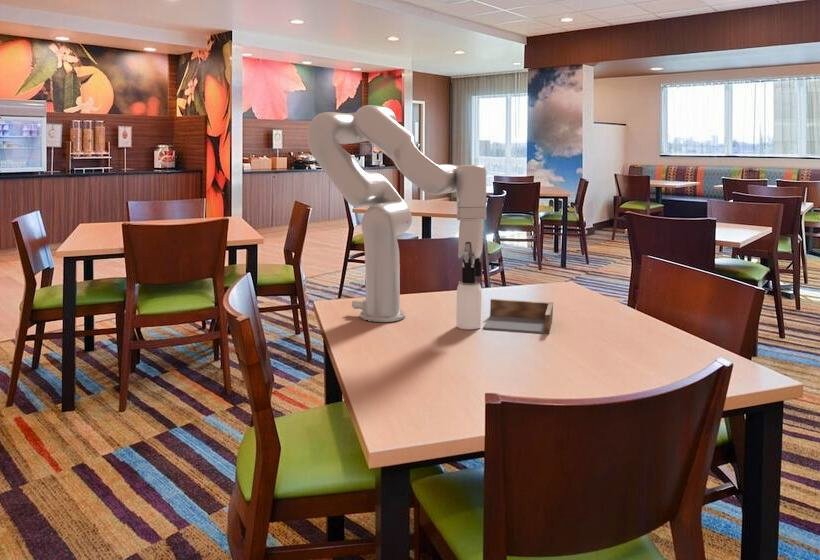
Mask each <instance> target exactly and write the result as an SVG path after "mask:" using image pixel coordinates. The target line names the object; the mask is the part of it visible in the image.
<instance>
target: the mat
mask: <svg viewBox="0 0 820 560" xmlns="http://www.w3.org/2000/svg"><path fill="white" fill-rule="evenodd" d="M482 329H483V330H487V331H490V330H491V331H503V332H516V333H517V332H519V333H533V334H545V332H544V331H545V319H534V318H519V317H504V316H490V315H489V317H488V319H487V320H486V322H485V323H484V325H483V327H482ZM550 332H551V330H550V331H549V332H546V333H549V334H550Z"/></svg>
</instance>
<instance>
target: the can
mask: <svg viewBox="0 0 820 560" xmlns="http://www.w3.org/2000/svg"><path fill="white" fill-rule="evenodd" d="M482 290H483V289H482V286H481V282H479V281H477V280H475V283H463V282H462V280H461V281H458V286H457V287H456V327H457V329H459V330H464V331H475V330H479V329H480V328H481V325H482V298H483V297H482V296H483V295H482Z"/></svg>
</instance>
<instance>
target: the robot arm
mask: <svg viewBox="0 0 820 560" xmlns="http://www.w3.org/2000/svg"><path fill="white" fill-rule="evenodd" d="M306 135H307V138H306V139H307V145H308V149H309V151H310V153H311V155H312V158H314V160H315V161H316V163H317V164H318V165H319V166H320V167H321V169H322V170H323V172H325V174H326V175H327V176H328V177H329V179H330V180H331V182H332V183H333V185H334V186H335V188H336V189H337V190H338V191H339V193H340V194H341V195H342V196H343V198H344V199H345V201H346V202H347V203H348V204H349V205H350V206H352V207H355V208H366V207H369V208H367V209H366V210H365V211H364V213H363V215H362V217H361V233H362V237H363V245H364V265H365V266H364V267H365V268H364V270H365V271H364V272H365V273H364V274H365V275H364V276H365V299H364V300H363V301H362V300H361V301H360V300H352V302H351V307H352V308H353V309H355V310H358V309H359V310H361V311H360V314H359V317H360V319H362V320H364V321H366V320H368V321H367V322H372V321H373V323H390V322H391V323H392V322H397V321H398V322H399V321H400V320H403V319H405V318H406V312H405V311H404V310H403V309H401V308H400V304H401V303H400V300H401V299H400V296H401V295H400V294H401V292H400V290H401V289H400V287H401V285H400V282H401V281H400V278H401V277H400V275H401V272H400V268H401V264H400V262H401V259H400V256H401V255H400V248H399V242H398V237H397V236H399V235H402V234H404V233H406V232H407V231H408V230H409V229H410V227H411V226H412V222H413V215H412V212H411V209H410V207H409V205H408V204H407V203H406V201H404V199H403V198H402V197H401V195H400V194H399V192H398V191H397V190H396V189H395V187H394V186H393V185H392V184H391V182H390V181H389V180H388V179H387V178H386V177H385V176H383V175H382V174H381V173H378V172H377V171H376V172H375V171H365V170H363V169H362V168H361V166H360V165H359V164H358V162H357V161H356V159H354V157H353V156H352V155H351V154H350V153H349V152H348V151H347V150H346V149H345V148H344V147H343V146H341V145H349V144H357V143H362V142H369V143H370V144H371V145H373V146H374V147H375V148H376V149H378V150H379V151H381V152H382V153H383V154H384V155H386V156H387V157H388V158H389V159H391V161H392V162H393V163H394V165H395V167H396V168H397V169H398V171H399V172H400V173H401V174H402V175H403V176H404V177H405V178H406V179H407V180H408V181H409V182H411V183H412V184H414V185H415V186H416V187H417V188H418V189H419V190H421V191H423V192H424V193H426V194H428V195H431V196H439V195H440V196H441V195H446V194H451V193H456V221H459V227H458V248H457V249H458V251H457V253H458V254H457V256H458V259H462V267H461V270H462V271H461V276H462V279H461V281H462V282H463V283H475V281H476V277H481V276H482V261H481V260H482V257H481V255H482V254H483V241H484V240H483V235H484V234H483V221H484V220H485V221H486V220H487V170H486V166H484V165H482V164H462V165H456V164H451V163H450V164H449V163H448V164H447V163H446V164H445V163H443V164H436V162H434V161H433V160H431V159H430V158H428V157H427V156H426V155H425V154H423V153H422V152H421V151H420V150H419V149H418V147H417V146H416V144H415V137H414V135H413V133H412V132H410V131H409V130H408V129H406V128H405V127H404V126H402V124H400V123H399V122H398V120H397V116H396V115H395V113H394V112H393V110H391V109H390V108H388V107H386V106H382V105H372V104H367V105H363V106H361V107H359V108H358V109H357V110H356V111H355V112H347V113H345V112H338V111H337V112H336V111H325V112H321V113H319V114H317V115H315V116H314V117H313V118H312V119H311V120H310V122H309V124H308V127H307V134H306Z"/></svg>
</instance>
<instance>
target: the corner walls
mask: <svg viewBox="0 0 820 560" xmlns="http://www.w3.org/2000/svg"><path fill="white" fill-rule="evenodd" d="M489 304H490V311H489V317H490V316H504V317H519V318H534V319H545V331H544V332H545V334H547V335H550V333H546V332H549V331H550V332H551V328H552V323H553V313H554V312H553V311H554V302H546V301H532V300H514V299H498V298H491V299H490V303H489Z"/></svg>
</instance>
